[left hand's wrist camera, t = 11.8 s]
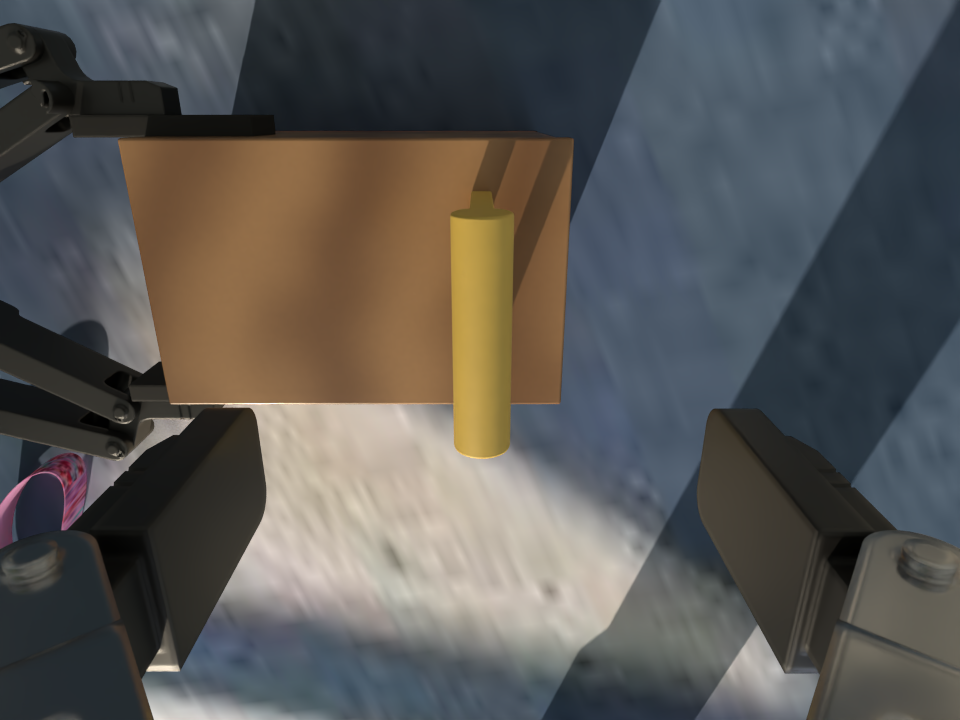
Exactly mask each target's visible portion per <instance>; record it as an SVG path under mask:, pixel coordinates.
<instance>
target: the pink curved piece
mask: <svg viewBox="0 0 960 720" xmlns="http://www.w3.org/2000/svg"><path fill="white" fill-rule="evenodd" d="M40 473H50V474H53V475H55V476H56V477H58V479H59V480H60V481H61V483H62V486H63V490H64V515H63V522H62V528H61V530H67V529H68V528H69V527H70V526H71V525H72V524H73V523H74V522H75V521H76V520H77V519H78V518H79V517H80V516H81V515H82V511H83V506H84V501H85V495H86V485H87V473H86V467H85V464H84V462H83V460H82V459H81V457H79V456H78V455H76V454H74V453H64V454H60V455H57V456H55V457H53V458H51V459H50V460H48V461H47V462H45V463H44V464H43V465H41V466H40V467H39V468H38V469H36V470H35V471H34V472H33V473H31V474H30V475H29V476H28V477H26V478H25V479H24V480H23V481H21V482H20V483H19V484H18V485H17V486H15V487H14V488H13V489H12V490H11V491H10V493H9V494H8V495H7V496H6V497H5V499H4V500H3V502H2V503H1V505H0V549H1V548H3V547H5V546H7V545H9V544H11V543H13V542H12V522H13V516H14V511H15V507H16V504H17V502H18V499H19V497H20V494H21V492H22V490H23V489H24V487H25V485H26V484H27V482H28V481H29V479H30V478H31V477H32V476H34V475H37V474H40Z"/></svg>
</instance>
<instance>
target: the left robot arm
mask: <svg viewBox="0 0 960 720" xmlns="http://www.w3.org/2000/svg"><path fill="white" fill-rule="evenodd" d="M697 503H698V510H699V514H700V517H701V520H702V522H703V524H704V526H705V528H706V530H707V532H708V534H709V535H710V537H711V539H712V541H713V543H714V545H715V546H716V548H717V550H718V552H719V554H720V556H721V557H722V559H723V561H724V563H725V565H726V567H727V568H728V570H729V572H730V574H731V576H732V577H733V579H734V581H735V583H736V585H737V587H738V588H739V590H740V592H741V594H742V596H743V598H744V599H745V601H746V603H747V605H748V607H749V609H750V610H751V612H752V614H753V616H754V618H755V620H756V621H757V623H758V625H759V627H760V629H761V631H762V632H763V634H764V636H765V638H766V640H767V641H768V643H769V645H770V647H771V649H772V651H773V652H774V654H775V656H776V658H777V660H778V662H779V663H780V665H781V667H782V669H783V671H784V673H819V674H820V677H819V680H818V683H817V687H816V690H815V693H814V696H813V699H812V703H811V706H810V709H809V712H808V716H807V719H806V720H960V549H959V548H957V547H955V546H953V545H951V544H949V543H946V542H944V541H942V540H939V539H936V538H933V537H930V536H927V535H923V534H919V533H914V532H909V531H901V530H897V529H896V528H895V527H894V526H893V525H892V524H891V523H890V522H889V521H888V520H887V519H886V518H885V517H884V516H883V515H882V514H881V513H880V512H879V511H878V510H877V509H876V508H875V507H874V506H873V505H872V504H871V503H870V502H869V501H868V500H867V499H866V498H865V497H864V496H863V495H862V494H861V493H860V492H859V491H858V490H857V489H856V488H851V484H850V483H849V482H848V481H847V480H846V479H845V478H844V477H843V476H842V475H841V474H840V473H839V472H836V469H835V468H834V467H833V466H832V465H831V464H830V463H829V462H828V461H827V460H826V459H825V458H824V457H823V456H822V455H821V454H820V453H819V452H818V451H817V450H815V449H813V448H811V447H809V446H808V445H806V444H804V443H802V442H800V441H799V440H797V439H795V438H793V437H791V436H785V435H784V434H783V433H782V432H781V431H780V430H779V429H778V428H777V427H776V426H775V425H774V424H773V423H772V422H771V421H770V420H769V419H768V418H767V417H766V416H765V414H764V413H763V412H762V411H760V410H759V409H713V410H712V411H711V412H710V414H709V416H708V419H707V423H706V430H705V437H704V443H703V450H702V457H701V464H700V471H699V478H698V485H697ZM265 504H266V482H265V475H264V468H263V461H262V454H261V447H260V440H259V433H258V426H257V420H256V416H255V414H254V412H253V410H252V409H251V408H205V409H203V410H202V411H201V412H200V413H199V414H198V415H197V417H196V418H195V419H194V420H193V421H192V422H191V423H190V424H189V425H188V426H187V427H186V428H185V429H184V430H183V431H182V432H181V434H180V435H173V436H171V437H169V438H167V439H165V440H164V441H162V442H160V443H158V444H156V445H154V446H153V447H151V448H149V449H147V450H146V451H145V452H144V453H143V454H142V455H141V456H140V457H139V458H138V459H137V460H136V461H135V462H134V463H133V464H132V465H131V466H130V467H129V471H125V472H124V473H123V474H122V475H121V476H120V477H119V478H118V479H117V480H116V481H115V482H114V486H110V487H109V488H108V489H107V490H106V491H105V492H104V493H103V494H102V495H101V496H100V497H99V498H98V499H97V500H96V501H95V502H94V503H93V504H92V505H91V506H90V507H89V508H88V509H87V510H86V511H85V512H84V513H83V514H82V515H81V516H80V517H79V518H78V519H77V520H76V521H75V522H74V523H73V524H72V525H71V526H70V527H69V528H68V529H67V530H59V531H51V532H46V533H41V534H37V535H33V536H30V537H27V538H24V539H21V540H18V541H16V542H14V543H11V544H9V545H7V546H5V547H3V548H1V549H0V720H154V719H153V716H152V712H151V709H150V706H149V703H148V699H147V696H146V693H145V690H144V687H143V683H142V680H141V679H142V677H143V676H144V674H145V672H146V671H180V670H181V668H182V666H183V665H184V663H185V661H186V659H187V657H188V655H189V654H190V652H191V650H192V648H193V646H194V644H195V642H196V641H197V639H198V637H199V635H200V633H201V631H202V629H203V628H204V626H205V624H206V622H207V620H208V618H209V616H210V615H211V613H212V611H213V609H214V607H215V605H216V604H217V602H218V600H219V598H220V596H221V594H222V592H223V591H224V589H225V587H226V585H227V583H228V581H229V579H230V578H231V576H232V574H233V572H234V570H235V568H236V567H237V565H238V563H239V561H240V559H241V557H242V555H243V554H244V552H245V550H246V548H247V546H248V544H249V542H250V541H251V539H252V537H253V535H254V533H255V531H256V529H257V528H258V526H259V524H260V522H261V520H262V517H263V514H264V510H265Z"/></svg>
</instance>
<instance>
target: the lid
mask: <svg viewBox="0 0 960 720" xmlns="http://www.w3.org/2000/svg"><path fill="white" fill-rule="evenodd" d="M118 143H119V148H120V153H121V158H122V163H123V169H124V174H125V179H126V184H127V189H128V194H129V199H130V204H131V209H132V214H133V219H134V224H135V229H136V234H137V239H138V244H139V250H140V255H141V260H142V265H143V270H144V275H145V280H146V285H147V290H148V295H149V300H150V305H151V310H152V315H153V320H154V326H155V331H156V336H157V341H158V346H159V351H160V356H161V361H162V366H163V371H164V376H165V381H166V386H167V391H168V396H169V402H170V404H453V406H454V446H455V448H456V450H457V451H458V452H459V453H461V454H462V455H465V456H467V457H471V458H478V459H486V458H493V457H497V456H499V455H502V454H503V453H505V452H506V451H507V450H508V448H509V446H510V408H511V404H560V402H561V384H562V364H563V345H564V325H565V306H566V286H567V267H568V247H569V227H570V208H571V188H572V169H573V149H574V140H573V138H569V137H129V138H120V139H118Z"/></svg>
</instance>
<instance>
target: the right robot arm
mask: <svg viewBox="0 0 960 720" xmlns="http://www.w3.org/2000/svg"><path fill="white" fill-rule="evenodd" d="M75 58H76V48H75V45H74V43H73V42H72V40H71V39H70V38H69V37H68V36H67V35H65V34H63V33H60V32H57V31H52V30H47V29H42V28H37V27H32V26H27V25H22V24H17V23H11V24H6V25H3V26H0V89H1V88H4V87H7V86H10V85H13V84H16V83H19V82H23V83H24V84H26V85H32V86H31V87H30V88H28V89H27V90H25V91H24V92H23V93H21V94H20V95H19V96H17V97H16V98H14V99H13V100H12V101H10V102H9V103H7V104H6V105H5V106H3V107H2V108H1V109H0V182H1V181H3V180H4V179H6V178H7V177H9V176H10V175H12V174H13V173H14V172H16V171H17V170H19V169H20V168H22V167H23V166H24V165H26V164H27V163H29V162H30V161H32V160H33V159H35V158H36V157H37V156H39V155H40V154H42V153H43V152H45V151H46V150H48V149H49V148H50V147H52V146H53V145H55V144H56V143H58V142H59V141H60V140H62V139H63V138H65V137H66V136H68V135H69V134H71V133H72V132H73V137H145V136H263V135H274V134H276V133H275V124H274V115H182V114H181V108H180V102H179V95H178V89H177V88H176V87H173V86H171V85H168V84H166V83H163V82H153V81H94V80H91V79H90V78H88V77H87V76H86V75H85V74H84V73H83V72H82V70H81V69H80V67H79V65H78V63H77V62H76V60H75ZM0 370H1V371H3V372H6V373H8V374H10V375H12V376H14V377H17V378H19V379H21V380H23V381H26V382H28V383H30V384H32V385H34V386H37V387H34V386H29V385H25V384H21V383H17V382H13V381H9V380H4V379H0V434H2V435H6V436H11V437H15V438H19V439H24V440H28V441H32V442H36V443H41V444H45V445H49V446H54V447H58V448H62V449H67V450H71V451H75V452H79V453H84V454H88V455H92V456H97V457H101V458H105V459H110V460H116V461H119V460H122V459H124V458H125V457H126V456H127V455H128V454H129V453H131V452H132V451H133V450H134V449H135V448H136V447H137V446H138V445H139V444H140V443H141V442H142V441H143V440H144V439H145V438H146V437H147V436H148V435H149V434H150V433H151V432H152V431H153V429H154V422H153V420H152V419H195V418H196V417H197V415H198V414H199V413H200V412H201V411H202V410H203V409H205V408H222V407H223V406H224V405H225V404H170V402H169V396H168V391H167V386H166V381H165V376H164V371H163V366H162V362H158V363H157V364H155V365H154V366H153V367H152V368H150V369H149V370H148V371H146V372H145V373H144V374H142V373H140V372H138V371H135V370H133V369H131V368H129V367H127V366H125V365H123V364H121V363H118V362H116V361H114V360H112V359H110V358H108V357H106V356H104V355H101V354H99V353H97V352H95V351H93V350H91V349H89V348H87V347H84V346H82V345H80V344H78V343H76V342H74V341H72V340H69V339H67V338H65V337H63V336H61V335H59V334H57V333H55V332H52V331H50V330H48V329H46V328H44V327H42V326H40V325H38V324H35V323H33V322H31V321H29V320H27V319H25V318H23V317H21V316H20V315H19V310H18V309H17V308H15V307H14V306H12V305H10V304H8V303H5V302H3V301H1V300H0ZM38 387H39V388H38Z"/></svg>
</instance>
